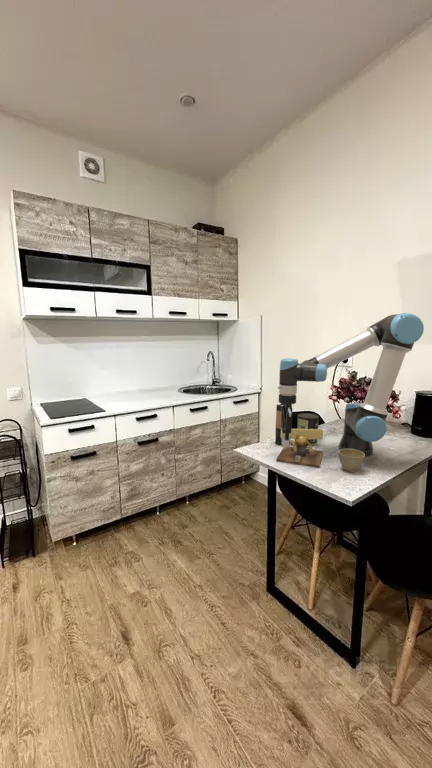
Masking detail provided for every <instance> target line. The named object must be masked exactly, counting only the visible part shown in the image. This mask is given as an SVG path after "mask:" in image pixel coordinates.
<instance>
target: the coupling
mask: <svg viewBox="0 0 432 768" xmlns="http://www.w3.org/2000/svg"><path fill="white" fill-rule="evenodd" d="M282 431H284V428H281V439H283V432H282ZM323 436H324V430H323V429H322V428H318V429H297V428H292V429H291V433H290V446H291V447H293V451H296V450H297V447H296V445H297V446H307V449H308V451H309V452H312V450H313V447H312V446H313V445H312V446H311V444H310V443H309V441H308V439H317V440H323V438H324V437H323Z"/></svg>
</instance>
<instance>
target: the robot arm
mask: <svg viewBox="0 0 432 768" xmlns="http://www.w3.org/2000/svg"><path fill="white" fill-rule="evenodd" d="M424 330H425V328H424V323H423V321H422V319H421V318H420V317H419V316H418V315H415V314H413V313H406V312H403V313H398V314H391V315H388V316H386V317H384V318H382V319H380V320H379V321H377V322H375V323H373V324H372V325H370V326H368V327H367V328H366V330H365V331H364V332H363V331H362V333H360V334H357V335H355V336H353V337H352V338H349V339H347V340H345V341H343V342H341V343H339V344H338V345H336V346H333V347H331V348H330V349H327V350H326V351H323V352H322V353H320V354H317V355H315V356H314V357H312V358H310V359H305V360H303V361H302V362H301V363H299V360H298V359H297V358H282V359H281V360H280V365H279V379H278V380H279V383H278V385H279V386H277V389H278V403H279V404H283V406H281V427H282V428H284V431H282V432H283V439H282V445H283V446H282V448H283V447H289V446H290V445H289V441H290V442H291V439H290V433H291V429H293V426H292V425H293V417H294V412H293V407H292V408H291V405H292V406H293V405H295V404H296V403H297V391H298V382H316V383H319V382H325V381H326V379H327V377H328V369H330V368H332V367H334V366H335V365H337V364H340V363H342V362H344V361H345V360H347V359H350V358H352V357H354V356H356V355H358V354H361V353H363V352H364V351H366V350H368V349H370V348H373V347H374V346H375V347H379V346H381V347H382V351H381V352H380V357H379V358H378V362H377V364H376V368H375V370H374V373H373V376H372V378H371V381H370V385H369V387H368V389H367V394H366V396H365V398H364V401H363V402H362V403H361V402H360V403H359V402H347V403H346V404H345V408H344V411H345V412H344V424H343V425H344V426H343V433H342V436H341V439H340V441H339V443H338V451H339V450H341V449H355V450H358V451H361V452H363V453H364V454H365V457H370V456H372V455H373V454H374V446H373V443H374V442H377V441H379V440H382V439H383V437H384V436H386V434H387V428H388V427H387V423H386V420H387V418H388V414H389V412H388V411H387V406H388V403H389V400H390V398H391V394H392V392H393V389H394V387H395V384H396V381H397V379H398V375H399V372H400V370H401V368H402V364H403V362H404V359H405V356H406V355H407V353H410V352H411V351H412V350H413V347H414V344H415V343H416V342H418V341H419V340H420V339H421V338H422V336H423V335H424Z"/></svg>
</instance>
